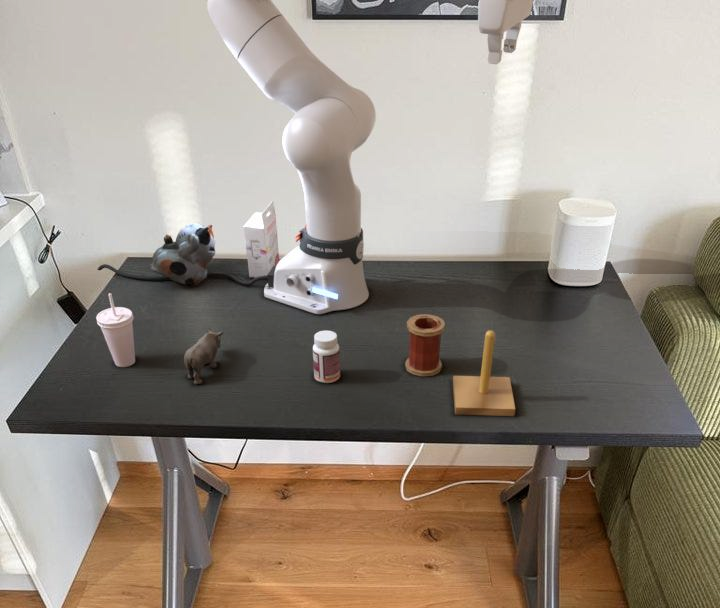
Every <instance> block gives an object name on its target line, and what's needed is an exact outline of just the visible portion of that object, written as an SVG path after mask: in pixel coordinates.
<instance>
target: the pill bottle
mask: <svg viewBox="0 0 720 608" xmlns="http://www.w3.org/2000/svg"><path fill="white" fill-rule="evenodd" d="M313 341H314V342H313V343H314V344H313V345H312V358H313V359H312V360H313V377H314V380H316V381H317V382H320V383H323V384H330V383H334V382H337V381H338V380H339V379H340V377H341V358H340V357H341V356H340V355H341V354H340V353H341V351H340V350H341V349H340V345H339V344H338V334H337V333H336V332H335V331H332V330H320V331H318V332H316V333H315V334H314V335H313Z"/></svg>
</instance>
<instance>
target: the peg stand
mask: <svg viewBox="0 0 720 608" xmlns="http://www.w3.org/2000/svg"><path fill="white" fill-rule="evenodd" d="M495 341H496V333H495V331H493V330H492V329H491V330H490V329H489V330H487V331H486V332H485V335H484V342H483V352H482V360H481V368H480V369H481V370H480V375H452V391H453V393H452V394H453V405H454V415H460V416H461V415H462V416H463V415H464V416H496V417H515V414H516V404H515V399H514V393H513V388H512V383H511V377H510V376H491V372H492V365H493V356H494V349H495V348H494V347H495Z"/></svg>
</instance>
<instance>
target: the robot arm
mask: <svg viewBox="0 0 720 608" xmlns="http://www.w3.org/2000/svg"><path fill="white" fill-rule="evenodd" d="M533 2H534V0H478V10H477V12H478V13H477V26H478V31H479V33H480V34H483V35H487V39H486V40H487V47H488V56H487V63H488V64H489V65H498V64H499V63H501V61H502V56H503V52H504V53H508V54H512V53H514V52H515V51H516V49H517V43H518V38H519V36H520V32H521V29H522V21H524V20H525V19H527V18H528V17H529V16H530V15H531V12H532V8H533V4H534V3H533ZM206 8H207V13H208V17H209V18H210V20H211V22H212V24H213V25H214V28H215V29H216V32H217V33H218V34H219V36H220V37H221V40H223V43H224V44H225V45H226V46H227V48H228V50H229V51H230V53H231V54H232V55H233V56H234V58H235V59H236V60H237V62H238V63H239V64H240V65H241V67H242V68H243V69H244V70H245V71H246V73H247V75H248V76H249V77H250V78H251V79H252V80H253V82H254V83H255V84H256V85H257V87H258V88H259V89H260V90H261V92H262V93H263V94H264V95H265V96H266V97H267V98H268V99H270V100H272V101H273V102H276V103H279V104H281V105H283V106H284V107H286V108H287V109H288V110H290V111H291V112H293V113H294V115H293V116H292V118H291V119H290V120H289V122H287V124H286V126H285V127H284V130H283V132H282V137H281V138H282V149H283V153H284V155H285V156H286V159H287V160H288V161H289V163H290V164H291V165H292V166H293V167H294V168H295V169H296V170H297V173H298V176H299V179H300V182H301V186H302V190H303V196H304V209H305V224H304V227H303V228H302V229H300V230H299V233H298V234H296V235H295V237H294V238H295V243H297V242H298V241H299V245H297V246H296V247H294V248H293V249H291V250H290V251H289V252H288V253H286V254H285V255H284V256H282V257H281V259H279V262H278V264H277V266H274V267H273V268H272V269H271V270H270V272H269V273H268V274H267V275H264V276H259V277H256V278H252V279H251V280H249V281H245V280H241V279H239V278H238V277H237V276H234V275H233V274H231V273H227V272H222V271H207V276H206V277H225V278H228V279H230V280H233V281H234V282H236V283H238V284H240V285H241V286H253V285H254V284H255V283H256V282H259V281H262V280H267V283H266V284H265V286H264V289H263V296H264V297H265V298H267V299H269V300H272V301H275V302H278V303H281V304H285V305H288V306H291V307H294V308H297V309H299V310H303V311H306V312H308V313H312V314H315V315H323V314H326V313H330V312H333V311H342V310H343V311H344V310H348V309H353V308H356V307H358V306H360V305H362V304H363V303H365V302H366V301H367V300H368V299H369V296H370V292H369V288H368V285H367V282H366V277H365V271H364V265H363V264H364V263H363V258H364V251H365V249H364V248H365V245H364V230H363V228H362V192H361V189H360V187H359V186H358V185H357V184H356V183H355V181H354V177H353V172H352V168H351V167H352V166H351V158H352V154H353V152H355V151H356V150H358V149H359V148H361V147H362V146H363V145H364V144H365V143H366V141H367V140H368V138H369V137H370V136H371V133H372V131H373V129H374V127H375V125H376V119H377V114H376V108H375V105H374V103H373V101H372V99H371V98H370V97H369V95H368V94H367V93H366V92H364V91H363V90H361V89H359V88H356V87H353V86H352V85H350V84H349V83H347V82H346V81H345V80H343V79H342V78H341V77H340V76H339V75H338V74H337V73H335V72H334V71H333V70H332V69H331V68H329V66H327V65H326V64H325V63H324V62H323V61H322V60H321V59H319V58H318V57H317V56H316V55H315V54H314V53H313V51H311V49H310V48H309V47H308V45H307V44H306V42H304V41H303V39H302V38H301V37H300V35H299V34H298V33H297V31H295V30H294V28H293V26H291V24H290V23H289V21H288V20H287V19H286V18H285V16H284V15H283V14H282V12H281V11H280V10H279V8H277V6H276V5H275V4H274V2H273V1H272V0H207V3H206ZM505 32H506V33H505ZM504 33H505V39H504ZM503 39H504V40H503ZM502 45H503V47H502ZM103 269H108V270H110V271H112V272H113V273H115V274H117V275H119V276H121V277H125V278H130V279H135V280H142V281H143V280H144V281H169V280H171V279H170V278H168V277H166V276H164V275H162V276H153V275H151V276H149V275H137V274H132V273H128V272H123V271H121V270H119V269H117V268H115V267H113V266H112V265H110V264H107V263H105V264H100V265H99V266H98V267H97V271H102V270H103Z"/></svg>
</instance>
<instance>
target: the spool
mask: <svg viewBox="0 0 720 608" xmlns="http://www.w3.org/2000/svg"><path fill="white" fill-rule="evenodd" d="M406 328H407V330H408V331H409V344H408V345H409V348H408V357H407V359H406V360H405V362H404V366H405V370H406V371H407V372H408V373H410V374H411V375H414V376H418V377H432V376H435V375H438V374H439V373H440V372H441V370H442V369H443V363H442V361H441V359H440V354H441V339H442V334H443V332H444V331H445V329H446V323H445V321H444V319H443V318H442V317H439V316H438V315H433V314H429V313H428V314H427V313H425V314H424V313H423V314H416V315H414V316H410V317H409V319H408V320H407V321H406Z"/></svg>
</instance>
